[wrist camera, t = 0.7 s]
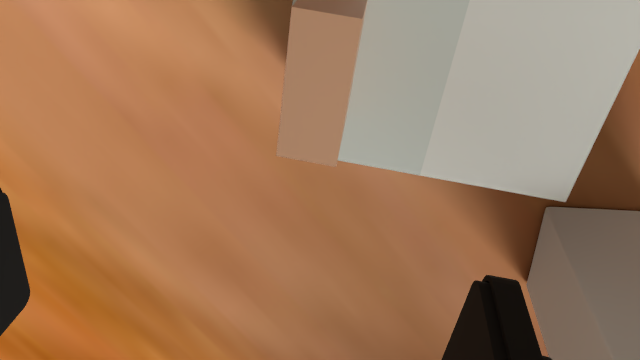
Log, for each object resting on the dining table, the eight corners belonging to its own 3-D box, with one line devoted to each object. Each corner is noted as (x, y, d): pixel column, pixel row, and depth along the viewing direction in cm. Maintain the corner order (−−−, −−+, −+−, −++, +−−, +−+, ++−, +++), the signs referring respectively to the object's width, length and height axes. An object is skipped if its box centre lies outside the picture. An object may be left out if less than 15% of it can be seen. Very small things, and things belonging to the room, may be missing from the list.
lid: (651, -34, 22) (750, 2, 16) (553, 180, 28) (598, 266, 21) (309, -91, 22) (276, -77, 16) (285, 130, 28) (254, 202, 22)
